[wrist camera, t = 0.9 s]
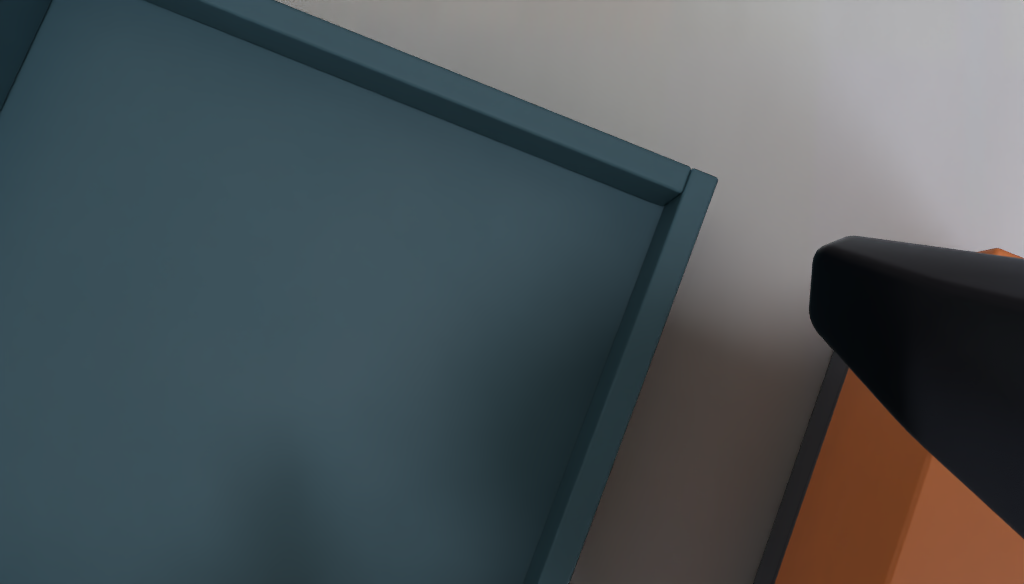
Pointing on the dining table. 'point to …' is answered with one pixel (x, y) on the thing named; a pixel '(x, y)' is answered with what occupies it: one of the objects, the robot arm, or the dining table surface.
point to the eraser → (880, 504)
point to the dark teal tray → (308, 304)
